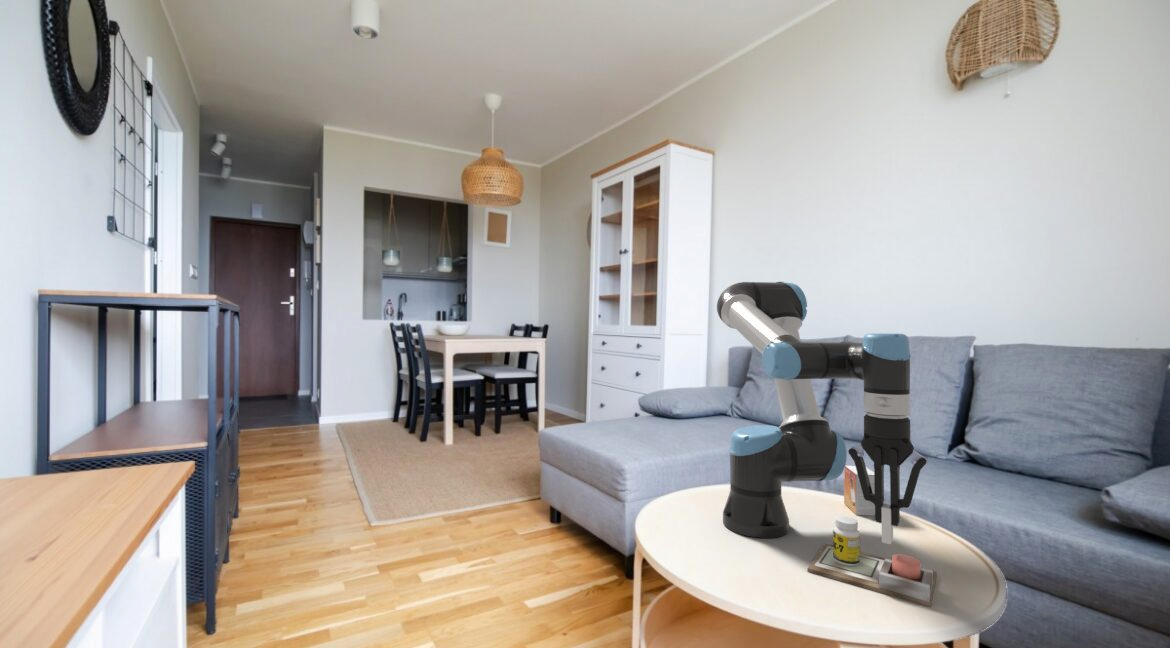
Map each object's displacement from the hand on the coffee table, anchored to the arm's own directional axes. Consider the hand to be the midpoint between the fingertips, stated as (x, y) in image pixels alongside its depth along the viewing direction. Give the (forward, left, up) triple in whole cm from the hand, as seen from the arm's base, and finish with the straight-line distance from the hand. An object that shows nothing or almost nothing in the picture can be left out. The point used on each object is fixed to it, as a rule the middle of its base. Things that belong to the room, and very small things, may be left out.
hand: (887, 541), depth 95 cm
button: (+3, -1, -5) cm, 6 cm away
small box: (-11, +38, -8) cm, 41 cm away
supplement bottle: (-7, +3, -7) cm, 11 cm away
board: (-3, +2, -8) cm, 9 cm away
